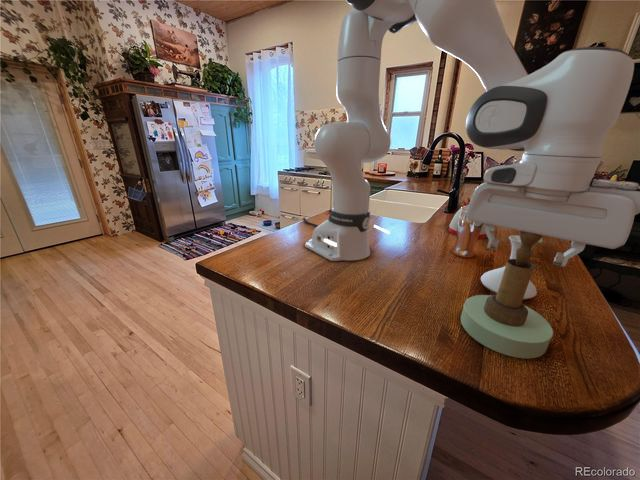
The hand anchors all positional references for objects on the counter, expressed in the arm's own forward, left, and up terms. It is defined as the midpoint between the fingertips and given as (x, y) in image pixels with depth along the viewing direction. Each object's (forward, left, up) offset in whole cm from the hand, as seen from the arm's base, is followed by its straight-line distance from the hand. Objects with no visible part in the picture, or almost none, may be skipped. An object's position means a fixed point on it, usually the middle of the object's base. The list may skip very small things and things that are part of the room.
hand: (523, 255), depth 45 cm
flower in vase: (-1, +17, -16) cm, 23 cm away
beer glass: (-15, +35, -16) cm, 41 cm away
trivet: (0, 0, -16) cm, 16 cm away
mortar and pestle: (0, 0, -13) cm, 13 cm away
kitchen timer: (-19, +59, -16) cm, 64 cm away
